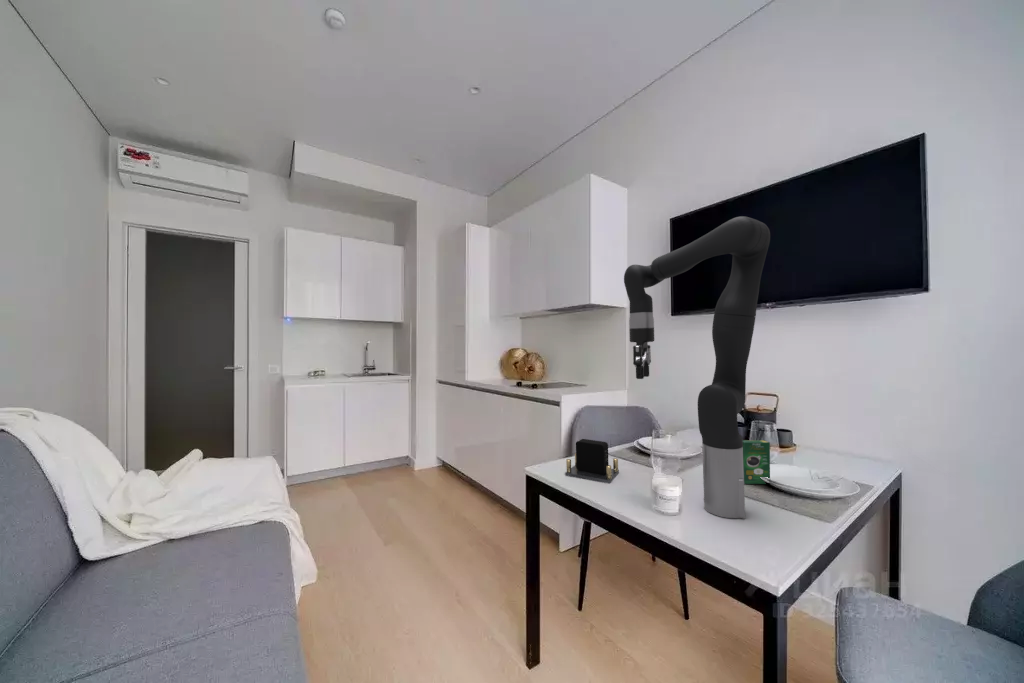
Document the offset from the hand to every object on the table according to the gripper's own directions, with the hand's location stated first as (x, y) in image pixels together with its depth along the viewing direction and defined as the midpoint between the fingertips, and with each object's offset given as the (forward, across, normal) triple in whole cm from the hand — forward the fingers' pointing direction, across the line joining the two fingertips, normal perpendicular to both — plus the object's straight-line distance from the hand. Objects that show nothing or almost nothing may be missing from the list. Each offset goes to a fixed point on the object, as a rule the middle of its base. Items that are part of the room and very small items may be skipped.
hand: (642, 377), depth 118 cm
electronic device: (+32, -2, +17) cm, 37 cm away
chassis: (+33, -2, +17) cm, 37 cm away
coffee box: (+33, +14, -30) cm, 47 cm away
